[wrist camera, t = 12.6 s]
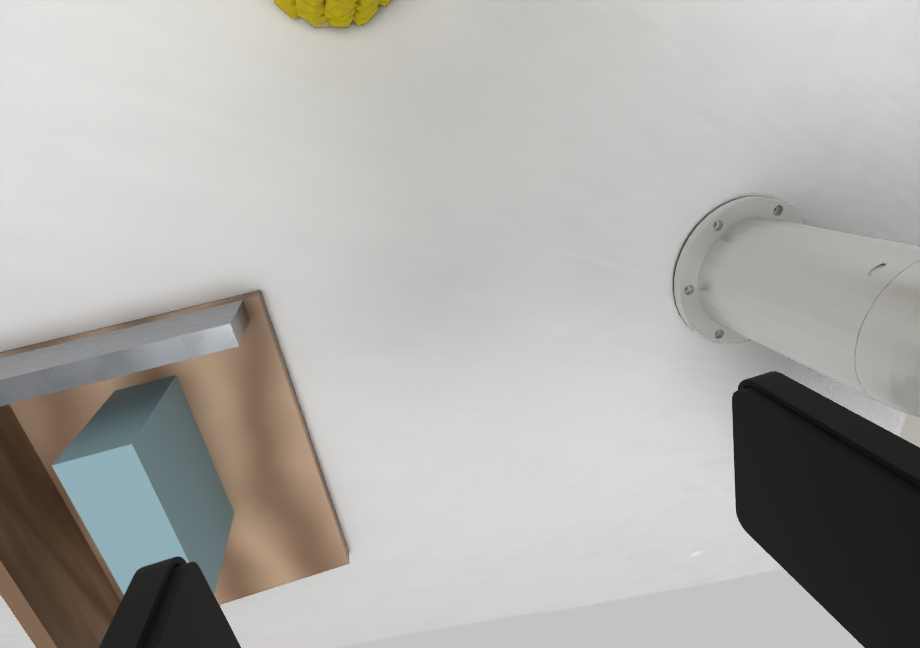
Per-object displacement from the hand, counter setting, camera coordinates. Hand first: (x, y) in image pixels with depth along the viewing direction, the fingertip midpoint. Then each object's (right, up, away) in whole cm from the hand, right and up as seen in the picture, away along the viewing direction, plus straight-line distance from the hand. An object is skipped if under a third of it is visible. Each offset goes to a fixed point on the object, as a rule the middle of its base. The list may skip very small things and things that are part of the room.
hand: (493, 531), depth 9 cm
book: (-21, -6, +30) cm, 37 cm away
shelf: (-21, -7, +32) cm, 39 cm away
